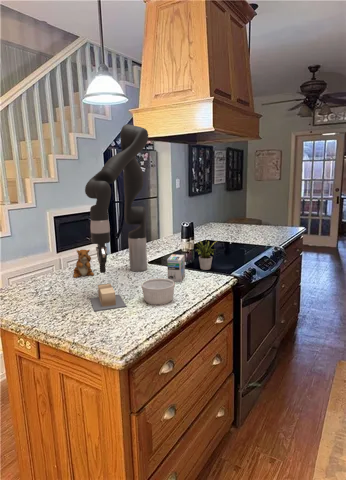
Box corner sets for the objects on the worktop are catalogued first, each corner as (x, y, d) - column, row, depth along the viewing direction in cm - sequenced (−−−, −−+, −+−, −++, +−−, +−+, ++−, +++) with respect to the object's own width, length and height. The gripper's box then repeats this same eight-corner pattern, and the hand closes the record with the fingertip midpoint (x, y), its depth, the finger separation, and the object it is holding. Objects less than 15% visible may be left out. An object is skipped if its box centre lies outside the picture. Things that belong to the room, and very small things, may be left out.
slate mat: (90, 298, 139) (90, 298, 139) (119, 294, 143) (119, 294, 143) (94, 311, 126) (94, 310, 126) (126, 306, 130) (126, 305, 130)
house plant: (185, 270, 176) (185, 239, 173) (194, 264, 189) (194, 235, 186) (212, 273, 171) (212, 241, 168) (219, 266, 184) (219, 236, 181)
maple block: (97, 284, 140) (101, 294, 129) (110, 283, 141) (115, 292, 130) (98, 296, 141) (102, 306, 129) (110, 294, 142) (115, 304, 131)
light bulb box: (181, 282, 158) (181, 259, 156) (167, 281, 159) (166, 259, 157) (185, 275, 168) (185, 254, 166) (171, 275, 170) (171, 254, 168)
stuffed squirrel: (73, 278, 167) (71, 252, 164) (73, 271, 180) (71, 246, 177) (94, 276, 169) (92, 250, 167) (92, 269, 183) (91, 245, 180)
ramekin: (162, 308, 128) (162, 290, 127) (135, 302, 135) (134, 285, 133) (181, 297, 139) (180, 281, 138) (154, 292, 146) (154, 276, 144)
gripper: (112, 232, 133) (114, 275, 136) (107, 228, 145) (109, 267, 148) (92, 234, 130) (95, 277, 133) (89, 229, 142) (91, 269, 146)
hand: (102, 272), depth 141 cm, fingers closed
